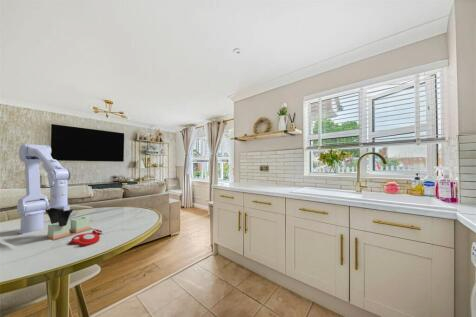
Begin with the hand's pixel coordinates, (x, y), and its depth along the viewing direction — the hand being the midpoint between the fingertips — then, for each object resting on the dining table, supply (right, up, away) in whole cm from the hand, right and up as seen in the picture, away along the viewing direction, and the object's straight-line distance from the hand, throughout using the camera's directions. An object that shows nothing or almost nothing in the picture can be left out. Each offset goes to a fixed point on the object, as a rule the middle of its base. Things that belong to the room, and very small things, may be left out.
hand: (58, 224), depth 83 cm
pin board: (+2, -6, +3) cm, 7 cm away
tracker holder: (+18, -6, -4) cm, 19 cm away
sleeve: (0, -5, 0) cm, 5 cm away
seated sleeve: (+4, -5, +7) cm, 9 cm away
